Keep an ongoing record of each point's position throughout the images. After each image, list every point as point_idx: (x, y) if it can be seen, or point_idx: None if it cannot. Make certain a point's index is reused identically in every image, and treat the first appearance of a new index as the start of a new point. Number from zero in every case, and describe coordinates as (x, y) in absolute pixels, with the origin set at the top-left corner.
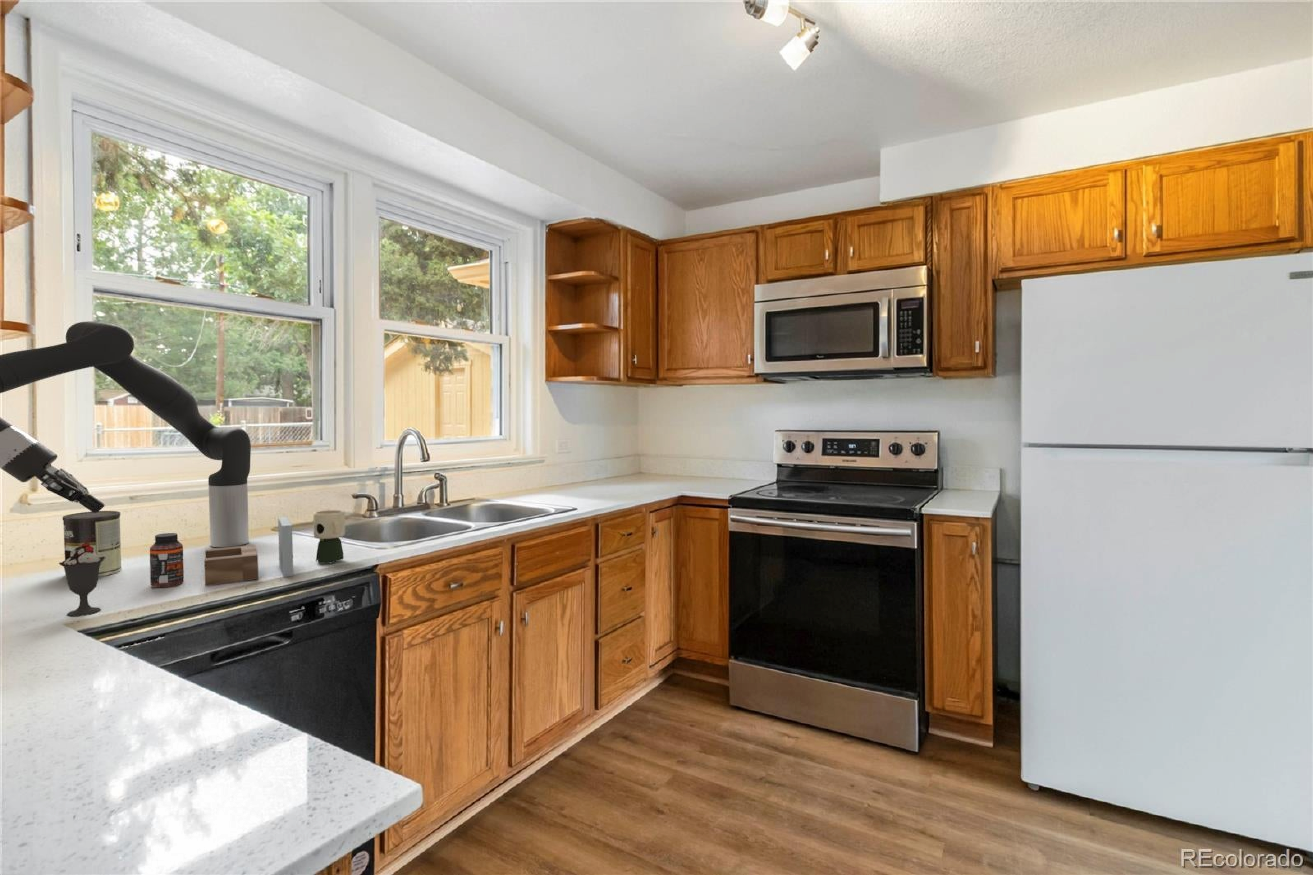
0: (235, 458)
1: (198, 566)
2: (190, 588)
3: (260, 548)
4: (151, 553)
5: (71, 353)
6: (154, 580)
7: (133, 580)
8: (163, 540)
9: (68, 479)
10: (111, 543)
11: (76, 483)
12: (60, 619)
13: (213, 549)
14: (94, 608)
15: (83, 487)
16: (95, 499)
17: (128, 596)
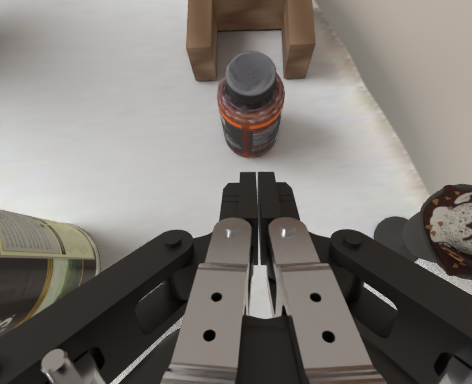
0: None
1: (119, 97)
2: (302, 99)
3: (20, 7)
4: (267, 124)
5: None
6: (270, 145)
7: (175, 192)
8: (275, 83)
9: (355, 334)
10: (42, 226)
11: (321, 271)
12: (430, 270)
13: (196, 34)
14: (399, 225)
15: (182, 249)
16: (272, 193)
17: (310, 186)
